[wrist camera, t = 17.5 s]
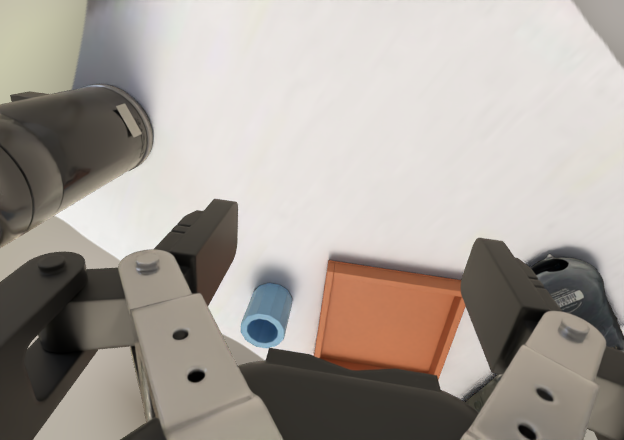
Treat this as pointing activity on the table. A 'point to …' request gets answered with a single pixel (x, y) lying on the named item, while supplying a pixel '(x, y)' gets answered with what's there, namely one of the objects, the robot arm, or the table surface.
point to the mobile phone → (483, 394)
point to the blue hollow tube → (267, 316)
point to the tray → (387, 318)
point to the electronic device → (580, 294)
